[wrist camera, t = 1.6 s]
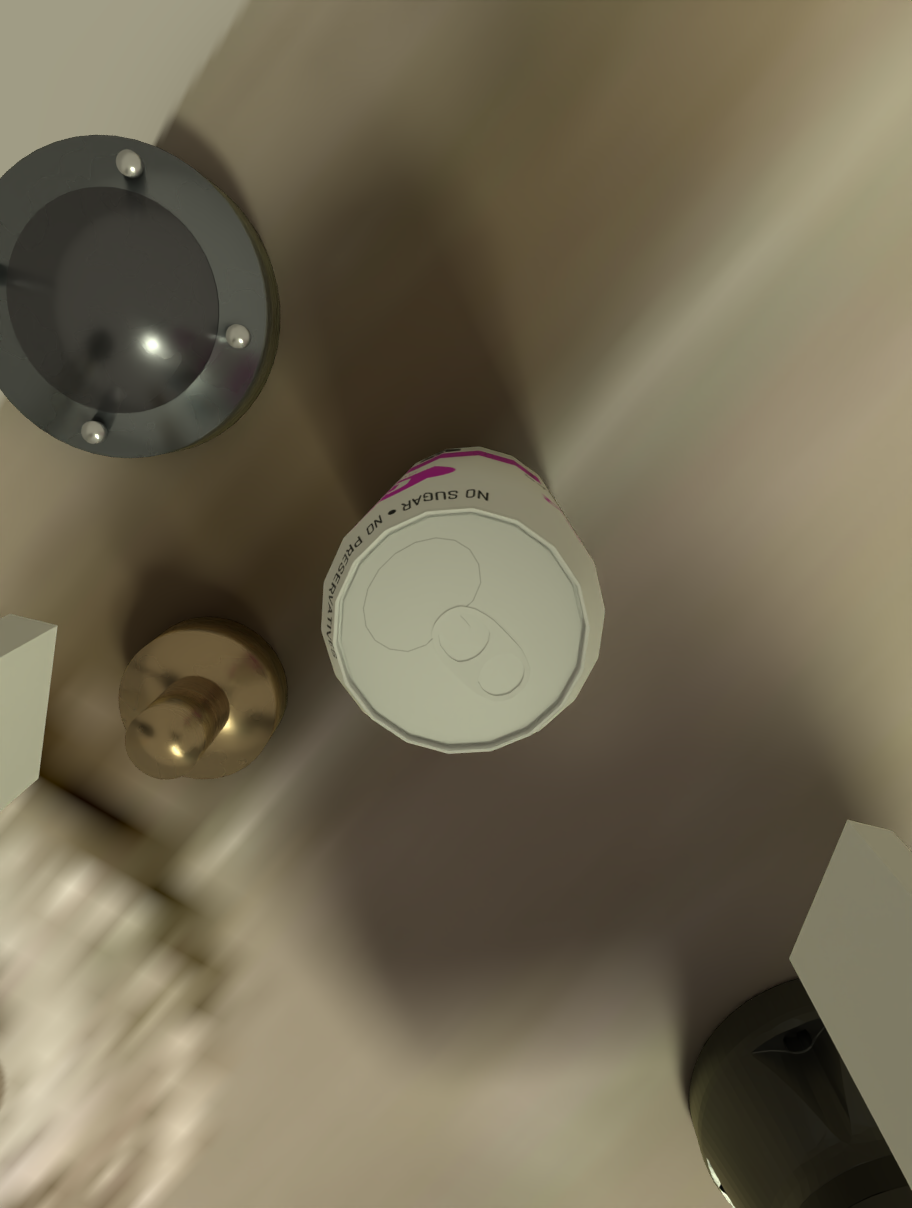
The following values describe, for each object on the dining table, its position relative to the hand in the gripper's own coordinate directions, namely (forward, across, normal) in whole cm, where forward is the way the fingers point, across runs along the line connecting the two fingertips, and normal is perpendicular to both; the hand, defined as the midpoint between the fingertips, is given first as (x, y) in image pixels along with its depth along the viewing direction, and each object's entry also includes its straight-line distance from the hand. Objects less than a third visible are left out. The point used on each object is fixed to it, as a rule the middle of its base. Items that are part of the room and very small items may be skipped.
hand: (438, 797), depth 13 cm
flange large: (+24, +16, -6) cm, 30 cm away
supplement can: (+24, 0, 0) cm, 24 cm away
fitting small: (+24, +10, +10) cm, 28 cm away
